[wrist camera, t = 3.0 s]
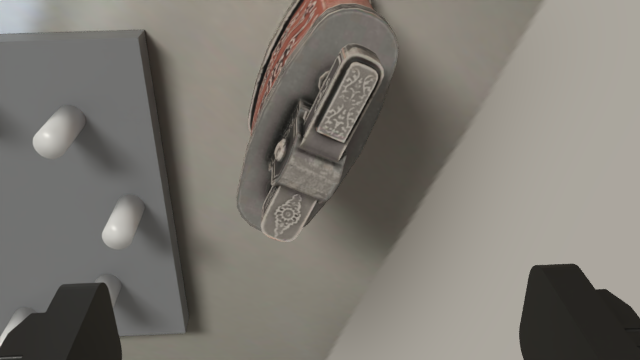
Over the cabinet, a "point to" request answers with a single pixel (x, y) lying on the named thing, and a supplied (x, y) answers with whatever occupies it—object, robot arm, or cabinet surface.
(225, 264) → the cabinet surface
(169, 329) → the pin tray
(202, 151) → the cabinet surface
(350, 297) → the cabinet surface
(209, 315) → the cabinet surface
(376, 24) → the lighter
